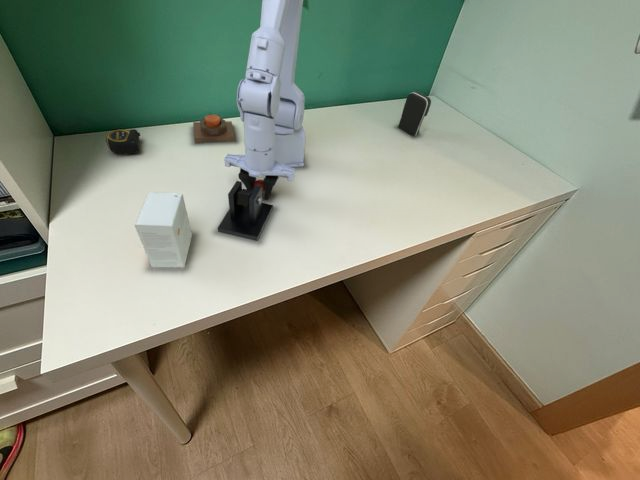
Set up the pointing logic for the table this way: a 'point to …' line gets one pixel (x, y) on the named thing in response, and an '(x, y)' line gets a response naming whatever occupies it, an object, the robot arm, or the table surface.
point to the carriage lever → (248, 193)
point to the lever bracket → (245, 215)
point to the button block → (213, 132)
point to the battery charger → (414, 112)
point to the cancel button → (212, 120)
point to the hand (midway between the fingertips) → (260, 198)
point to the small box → (164, 229)
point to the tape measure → (123, 141)
